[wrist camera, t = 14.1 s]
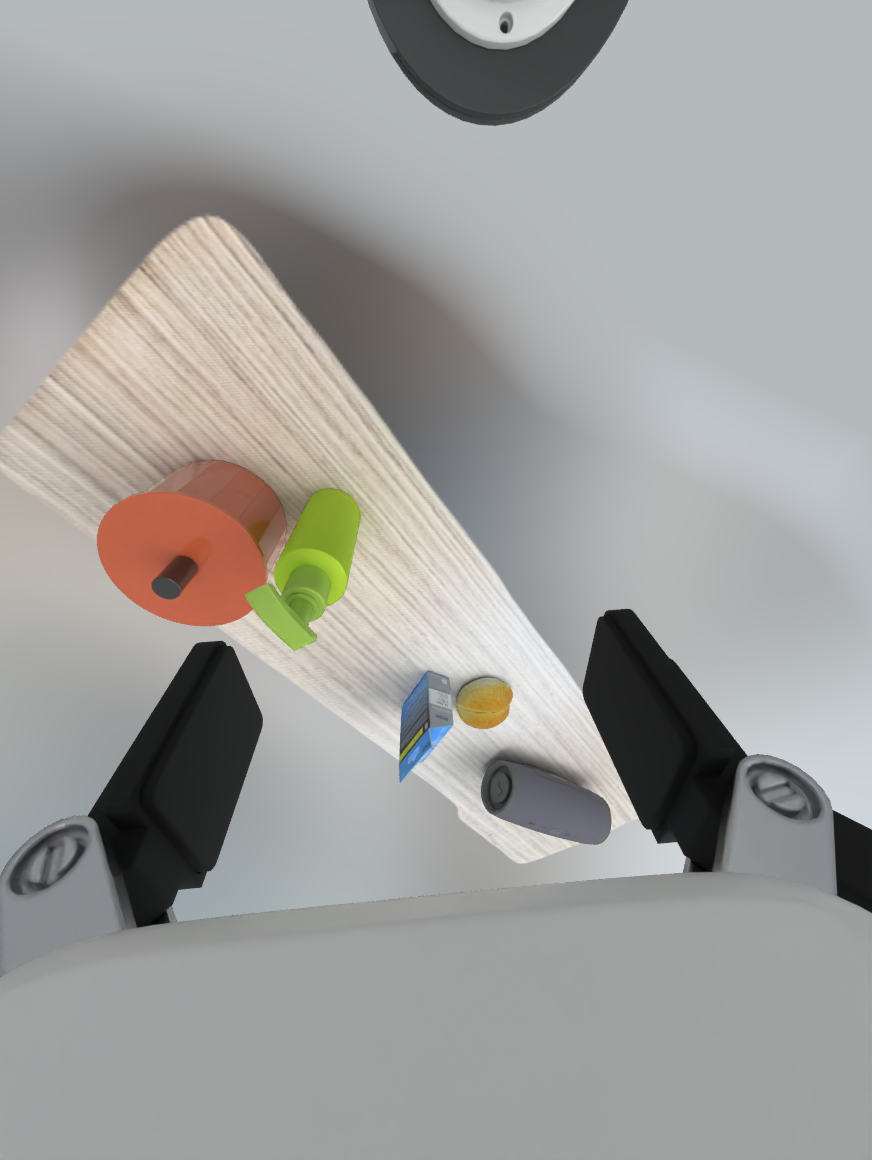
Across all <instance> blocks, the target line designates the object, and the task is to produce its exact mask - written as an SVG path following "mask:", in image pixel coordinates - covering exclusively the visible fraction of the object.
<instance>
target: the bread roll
mask: <svg viewBox="0 0 872 1160" xmlns="http://www.w3.org/2000/svg"><path fill="white" fill-rule="evenodd" d="M512 697H513V692H512V689H511V688H510V687H509V686H508V685H507V684H505V683H503V682H501V681H499V680H497V679H495V678H481V679H477V680H474V681H473V682H471V683H469V684H467V685H466V686H464V687H463V688H462V689H461V690H460V692H459V694H458V697H457V701H456V702H457V705H456V708H457V712H458V714H459V716H460V718H461V719H462V720H463V721H464V722H465V723H466V724H467V725H469V726H471V727H474V728H479V729H488V728H493V727H495V726H497V725H499V724H500V723H501V722H503V721H504V720H505V719H506V717H507V716H508V714H509V704H510V702H511V700H512Z"/></svg>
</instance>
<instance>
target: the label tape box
mask: <svg viewBox="0 0 872 1160" xmlns="http://www.w3.org/2000/svg"><path fill="white" fill-rule="evenodd" d="M452 726H453V714H452V703H451V692H450V680H449V678H446V677H444V676H441V675H438V674H435V673H432V672H427V673H426V674H425V676H424V677H423V679H422V680H421V681H420V683H419V684H418V686H417V687H416V688H415V690H414V691H413V693H412V694H411V696H410V697H409V698H408V700H407V701H406V703H405V704H404V705H403V707H402V714H401V733H400V760H399V776H400V783H401V782H402V781H403V780H404V778H405V777H406V776H407V775H408V773H409V772H410V771H411V770H412V769H413V768H414V767H415V766H416V765H417V763H419V762H423V761H424V760H425V759H426V757H427V756H428V755H429V754H430V752H431V751H432V750H433V749H434V748H435V746H436V745H437V744H438V743H439V741H440V740H441V739H442V738H443V737H444V735H445V734H446V733H447V732H448V731H449V729H450V728H451V727H452Z"/></svg>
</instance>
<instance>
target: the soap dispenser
mask: <svg viewBox="0 0 872 1160" xmlns="http://www.w3.org/2000/svg"><path fill="white" fill-rule="evenodd" d="M360 518H361V514H360V509H359V507H358V505H357V503H356V501H355V500H354V499H353V498H352V497H351V496H350V495H348V494H347V493H345V492H343V491H340V490H337V489H324V490H320V491H318V492H316V493H315V494H313V495H312V496H311V497H310V499H309V500H308V502H307V504H306V506H305V508H304V510H303V512H302V514H301V516H300V518H299V520H298V522H297V524H296V526H295V528H294V530H293V532H292V534H291V536H290V538H289V540H288V542H287V544H286V546H285V548H284V550H283V552H282V554H281V556H280V558H279V560H278V562H277V564H276V567H275V571H274V578H275V583H276V585H277V587H278V589H279V590H280V592H281V593H282V594H281V596H280V595H279V594H278V592H277V591H276V589H275V588H274V587H273V585H271V584H264V585H262V586H260V587H258V588H256V589H254V590H252V591H250V592H249V593H247V594H245V595H244V596H245V598H246V599H247V601H248V602H249V604H250V605H251V607H252V608H253V609H254V611H255V612H256V613H257V615H258V616H259V617H260V618H261V620H262V621H263V622H264V623H265V624H266V625H267V626H268V627H269V628H270V629H271V630H272V631H273V632H274V633H275V634H276V635H277V636H278V637H279V638H280V639H281V640H282V641H283V642H285V643H286V644H287V645H288V646H289V647H290V648H291V649H293V650H294V651H295V650H297V649H299V648H302V647H304V646H306V645H308V644H310V643H313V642H315V641H316V639H317V635H316V634H315V633H314V632H313V631H312V630H311V629H310V628H309V627H308V625H309V622H311V621H314V620H316V619H318V618H319V617H321V616H322V614H323V613H324V611H325V607H326V606H329V605H331V604H333V603H335V602H336V601H338V600H339V599H340V598H341V597H342V596H343V594H344V592H345V590H346V587H347V583H348V578H349V573H350V568H351V563H352V558H353V553H354V548H355V543H356V539H357V534H358V529H359V524H360Z"/></svg>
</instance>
